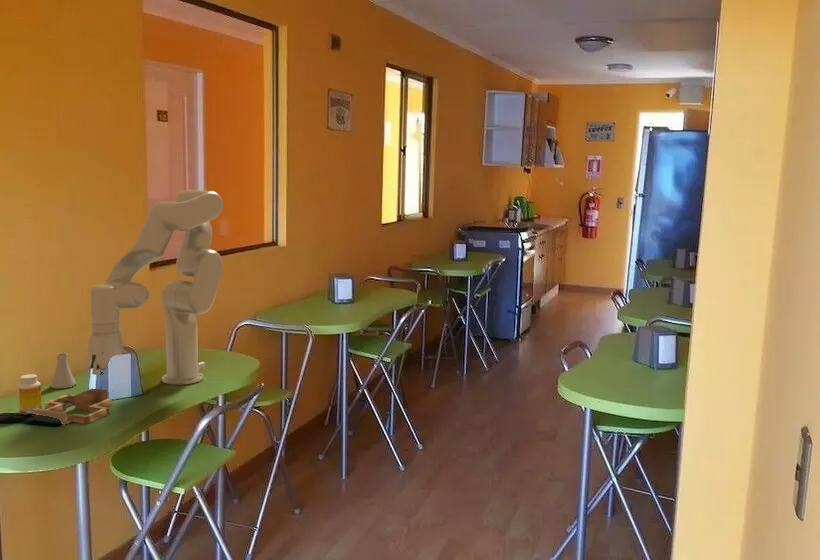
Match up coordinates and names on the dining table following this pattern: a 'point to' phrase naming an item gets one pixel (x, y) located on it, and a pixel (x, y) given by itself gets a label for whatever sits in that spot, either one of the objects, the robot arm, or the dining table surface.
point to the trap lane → (61, 403)
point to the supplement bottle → (29, 394)
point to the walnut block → (90, 398)
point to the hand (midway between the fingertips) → (108, 390)
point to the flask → (62, 373)
